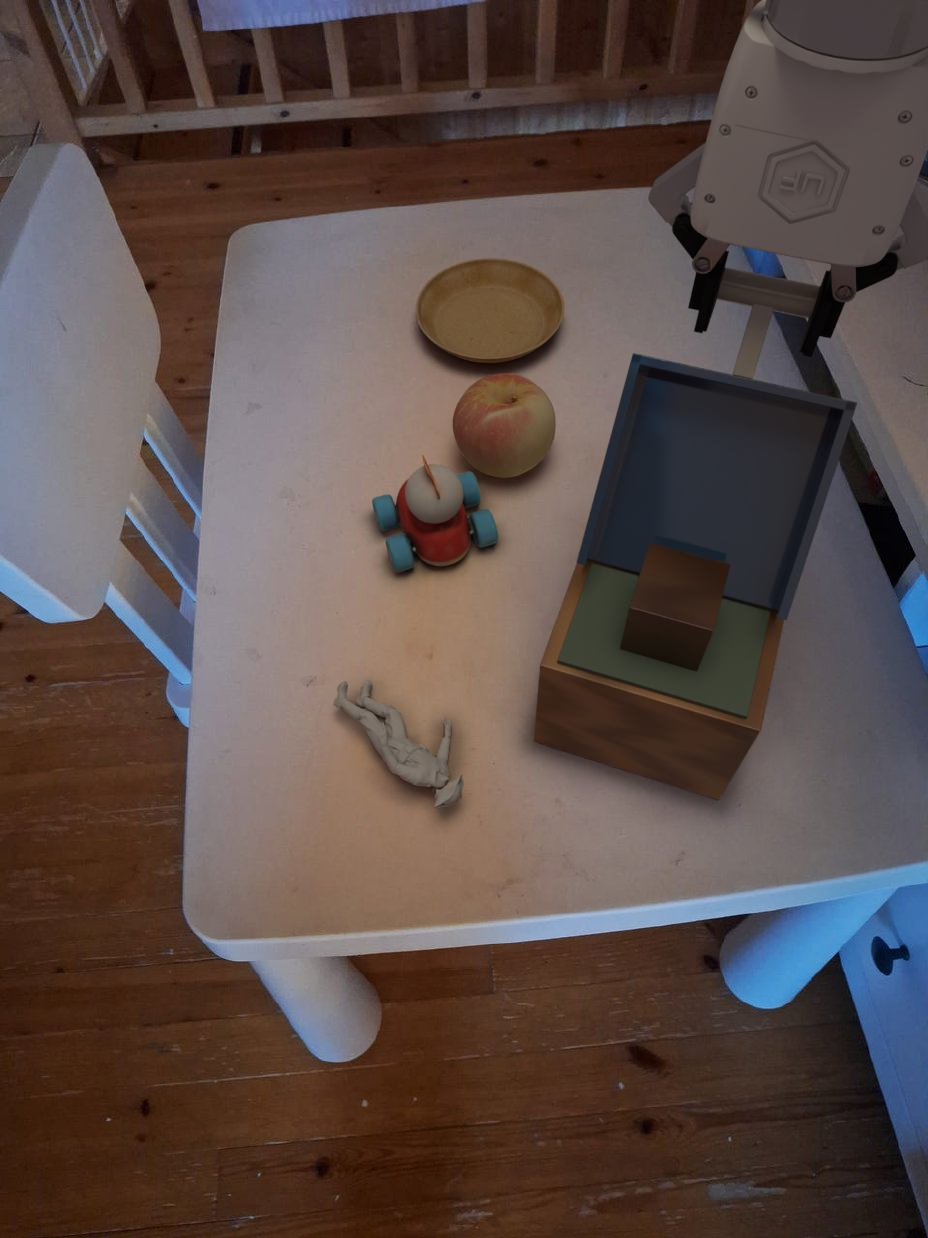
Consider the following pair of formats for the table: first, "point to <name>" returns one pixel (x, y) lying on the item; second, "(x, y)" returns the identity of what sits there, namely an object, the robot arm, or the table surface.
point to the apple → (504, 425)
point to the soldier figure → (403, 746)
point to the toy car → (434, 517)
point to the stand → (645, 715)
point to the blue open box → (721, 460)
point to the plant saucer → (489, 309)
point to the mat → (713, 686)
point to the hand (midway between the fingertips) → (756, 326)
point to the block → (674, 606)
